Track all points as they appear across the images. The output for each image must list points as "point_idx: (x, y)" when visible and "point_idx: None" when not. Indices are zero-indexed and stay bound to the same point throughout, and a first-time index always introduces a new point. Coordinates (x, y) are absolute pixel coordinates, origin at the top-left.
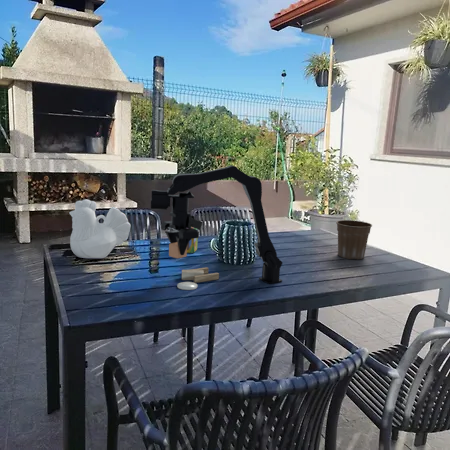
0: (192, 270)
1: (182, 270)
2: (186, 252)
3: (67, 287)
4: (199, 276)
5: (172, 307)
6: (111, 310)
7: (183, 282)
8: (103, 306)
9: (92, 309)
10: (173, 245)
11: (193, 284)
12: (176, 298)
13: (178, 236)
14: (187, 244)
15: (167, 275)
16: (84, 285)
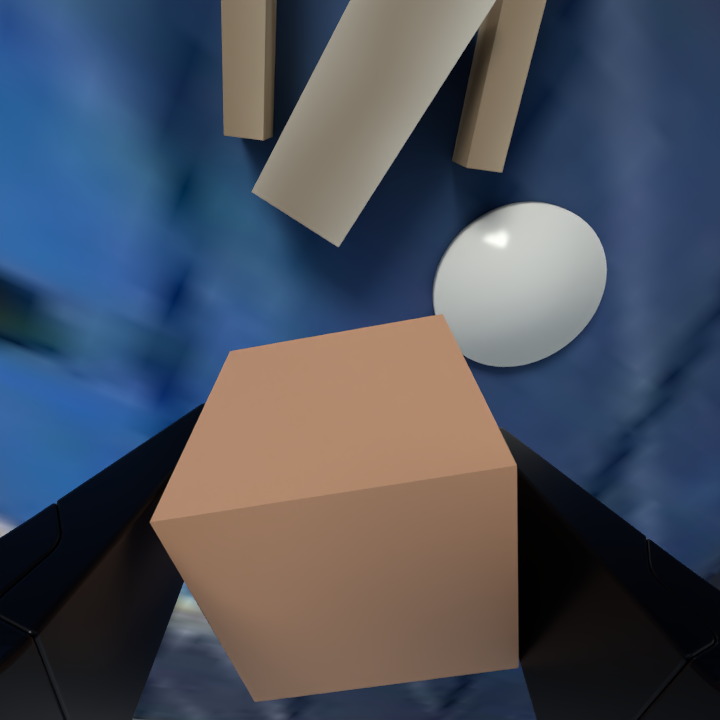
0: (341, 86)
1: (283, 204)
2: (461, 356)
3: (177, 708)
4: (515, 113)
5: (696, 522)
6: (518, 672)
7: (446, 284)
8: (463, 679)
9: (463, 702)
10: (382, 669)
11: (545, 240)
12: (625, 456)
13: (10, 694)
14: (707, 587)
15: (157, 266)
16: (176, 670)
